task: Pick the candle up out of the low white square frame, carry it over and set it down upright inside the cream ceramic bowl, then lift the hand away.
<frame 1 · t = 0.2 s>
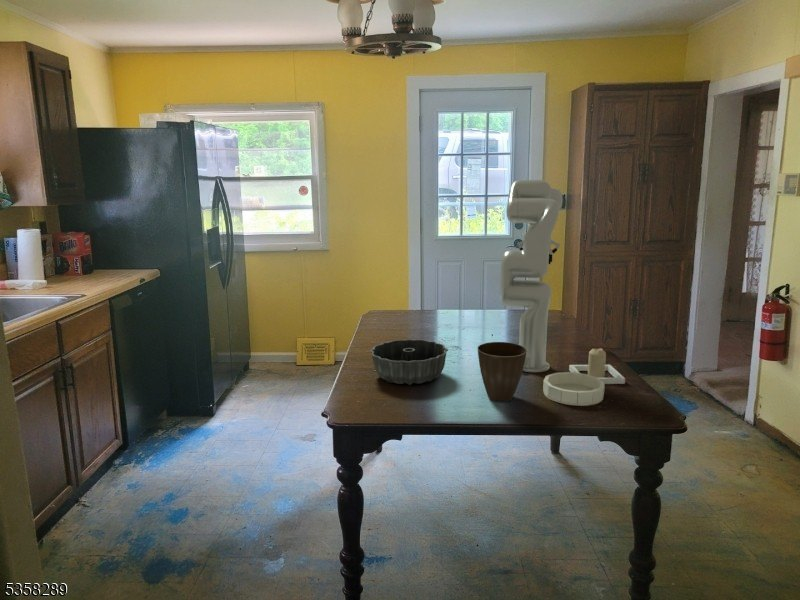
hand: (537, 263, 246), 31 cm above the table, tool pointing down, fingers open, 9 cm apart
white square frame: (595, 376, 200), on the table
bowl: (573, 394, 184), on the table
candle: (595, 377, 200), resting in white square frame
bundt pan: (409, 377, 202), on the table
plant pot: (500, 398, 182), on the table
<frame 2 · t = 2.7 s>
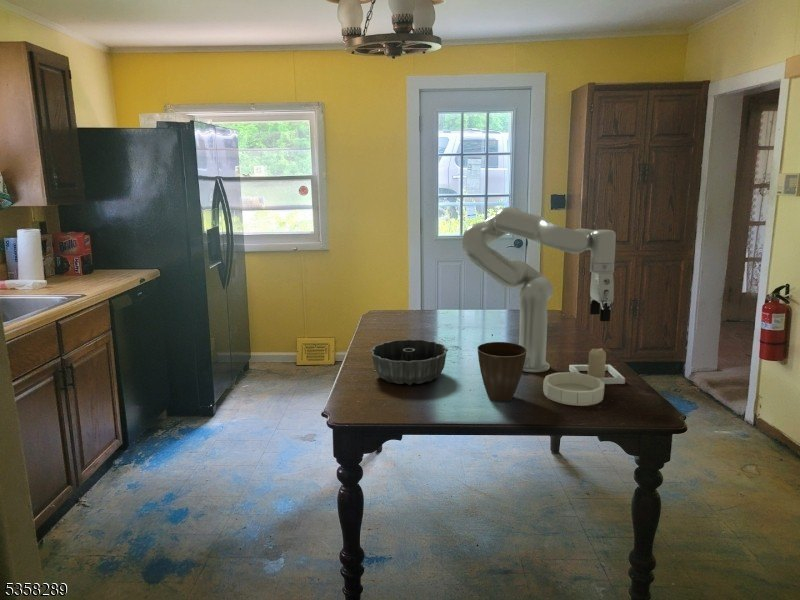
hand: (599, 317, 197), 21 cm above the table, tool pointing down, fingers open, 9 cm apart
nothing on the table moved.
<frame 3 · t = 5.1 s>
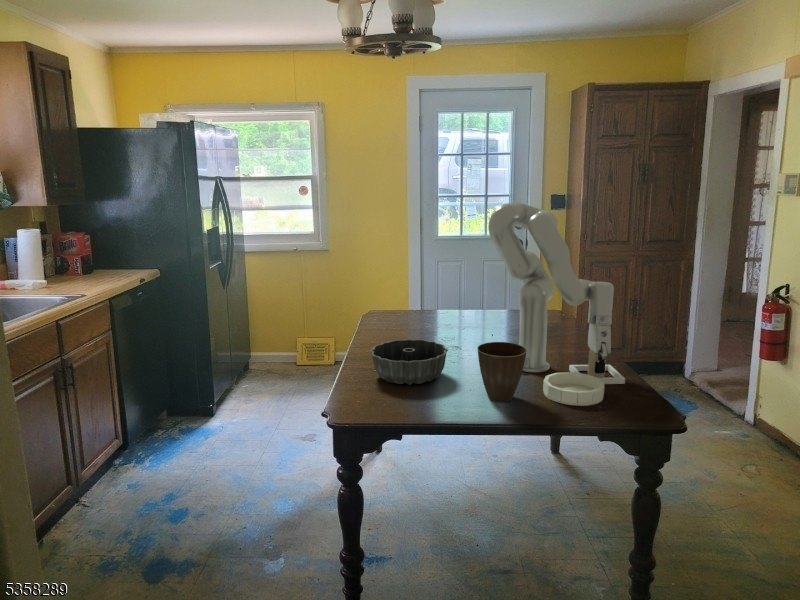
hand: (596, 369, 200), 3 cm above the table, tool pointing down, fingers closed on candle, 5 cm apart
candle: (595, 377, 200), resting in white square frame, touching gripper
everything else where it was.
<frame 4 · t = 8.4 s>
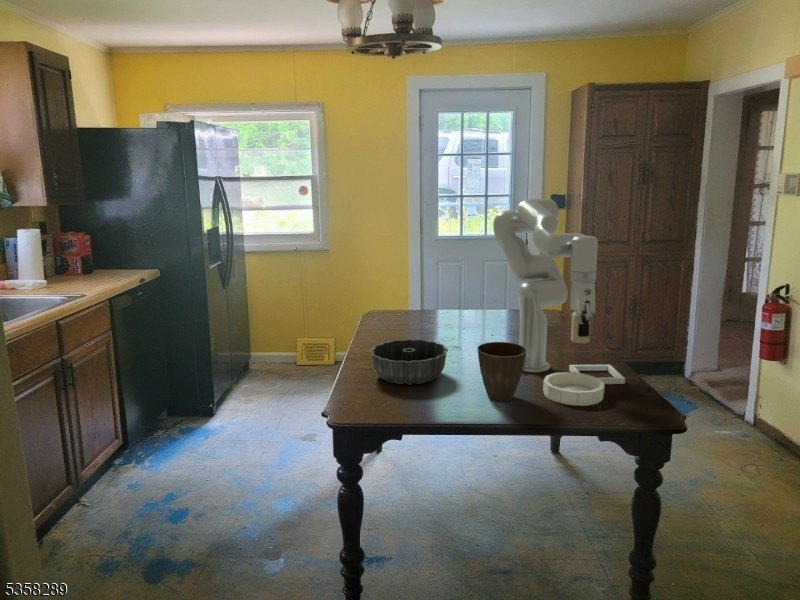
hand: (580, 333, 182), 20 cm above the table, tool pointing down, fingers closed on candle, 5 cm apart
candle: (579, 341, 182), point 17 cm above the table, touching gripper
everything else where it was.
when the fingers open (4 cm above the table, at t = 12.0 s): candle drops 1 cm, resting on bowl.
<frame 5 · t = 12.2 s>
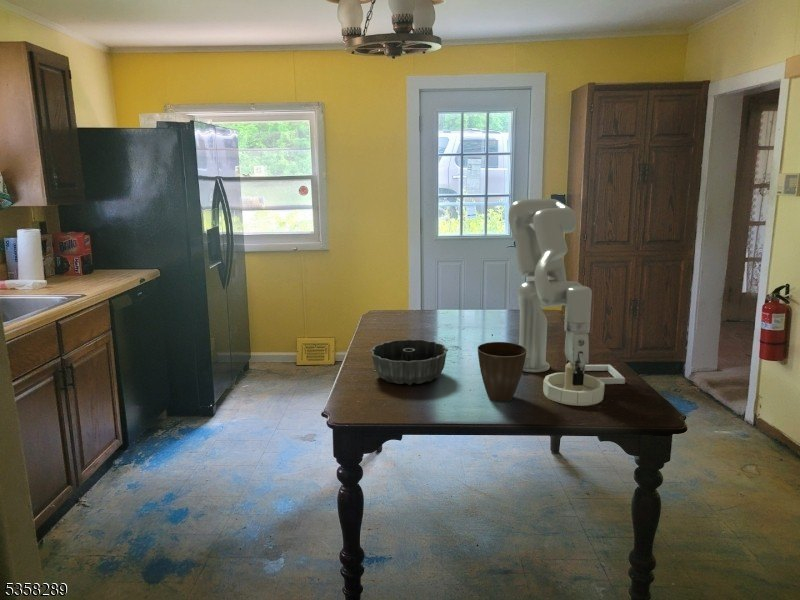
hand: (573, 380, 183), 5 cm above the table, tool pointing down, fingers open, 7 cm apart
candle: (572, 392, 184), point 1 cm above the table, touching bowl
everything else where it was.
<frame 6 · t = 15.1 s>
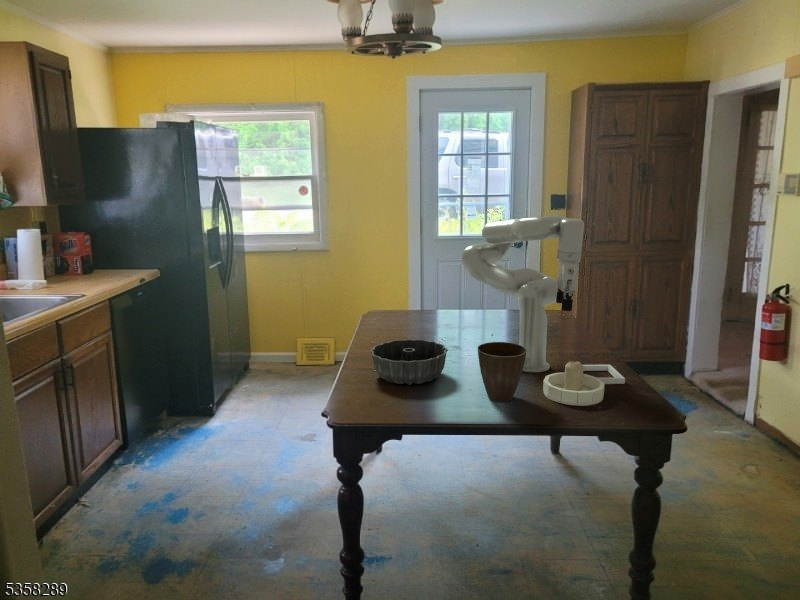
hand: (563, 306, 196), 24 cm above the table, tool pointing down, fingers open, 9 cm apart
nothing on the table moved.
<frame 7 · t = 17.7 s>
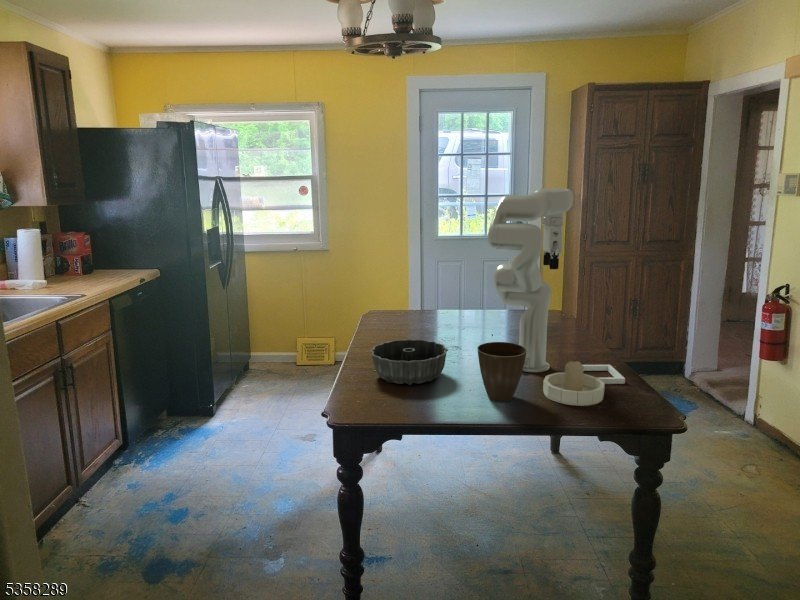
hand: (550, 267, 223), 33 cm above the table, tool pointing down, fingers open, 9 cm apart
nothing on the table moved.
at the end: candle inside the target area on the bowl (0.3 cm from its centre), point 0.6 cm above the bowl's base; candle tilted 0°; the gripper is holding nothing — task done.
